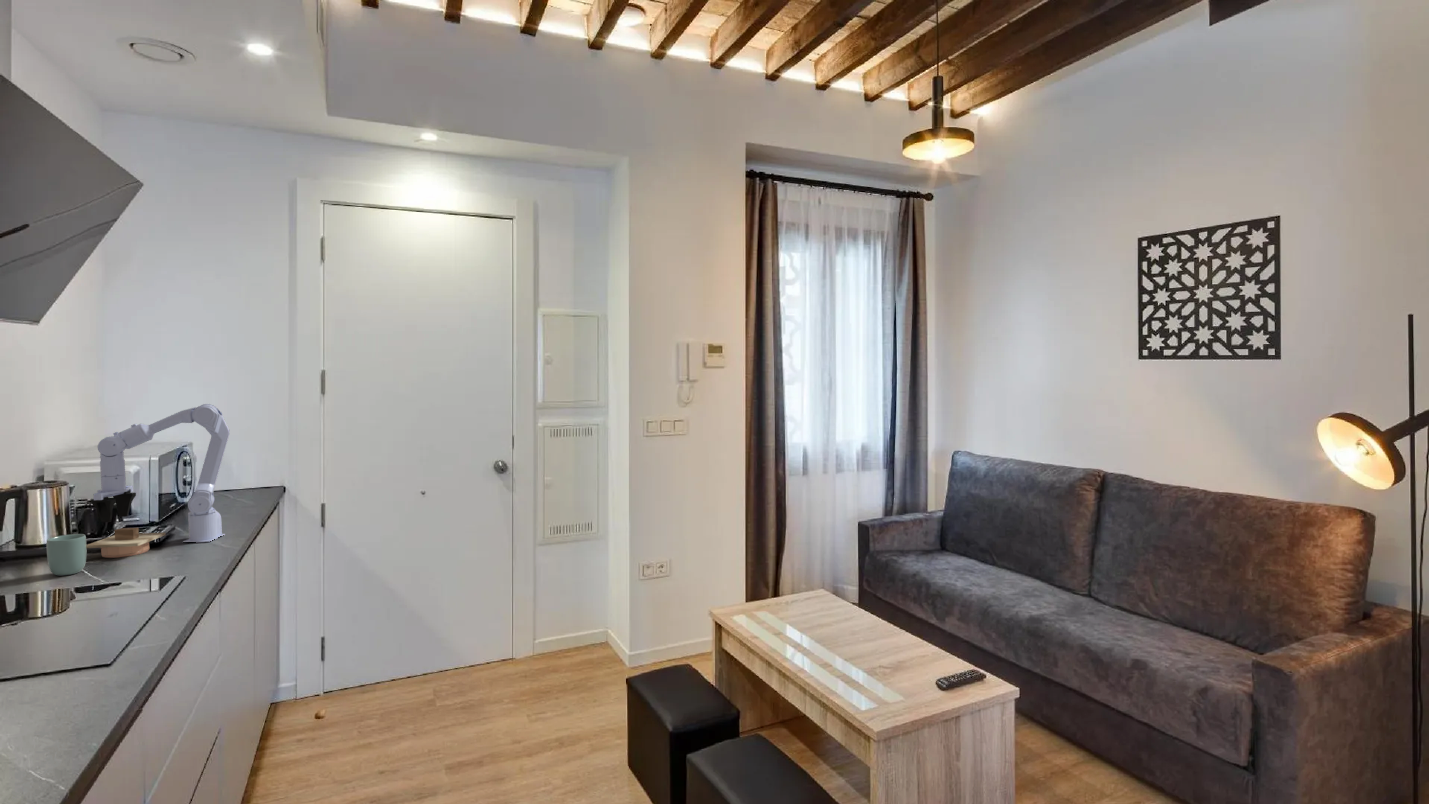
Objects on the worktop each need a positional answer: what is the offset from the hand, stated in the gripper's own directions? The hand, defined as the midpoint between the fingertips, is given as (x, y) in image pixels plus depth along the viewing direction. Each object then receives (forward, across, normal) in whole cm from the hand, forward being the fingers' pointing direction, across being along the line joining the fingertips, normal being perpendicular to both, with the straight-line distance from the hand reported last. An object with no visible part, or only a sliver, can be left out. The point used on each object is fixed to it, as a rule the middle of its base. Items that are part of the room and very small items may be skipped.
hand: (115, 519), depth 212 cm
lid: (+6, +5, +6) cm, 10 cm away
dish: (+9, +5, +6) cm, 12 cm away
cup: (+10, +26, +4) cm, 28 cm away
